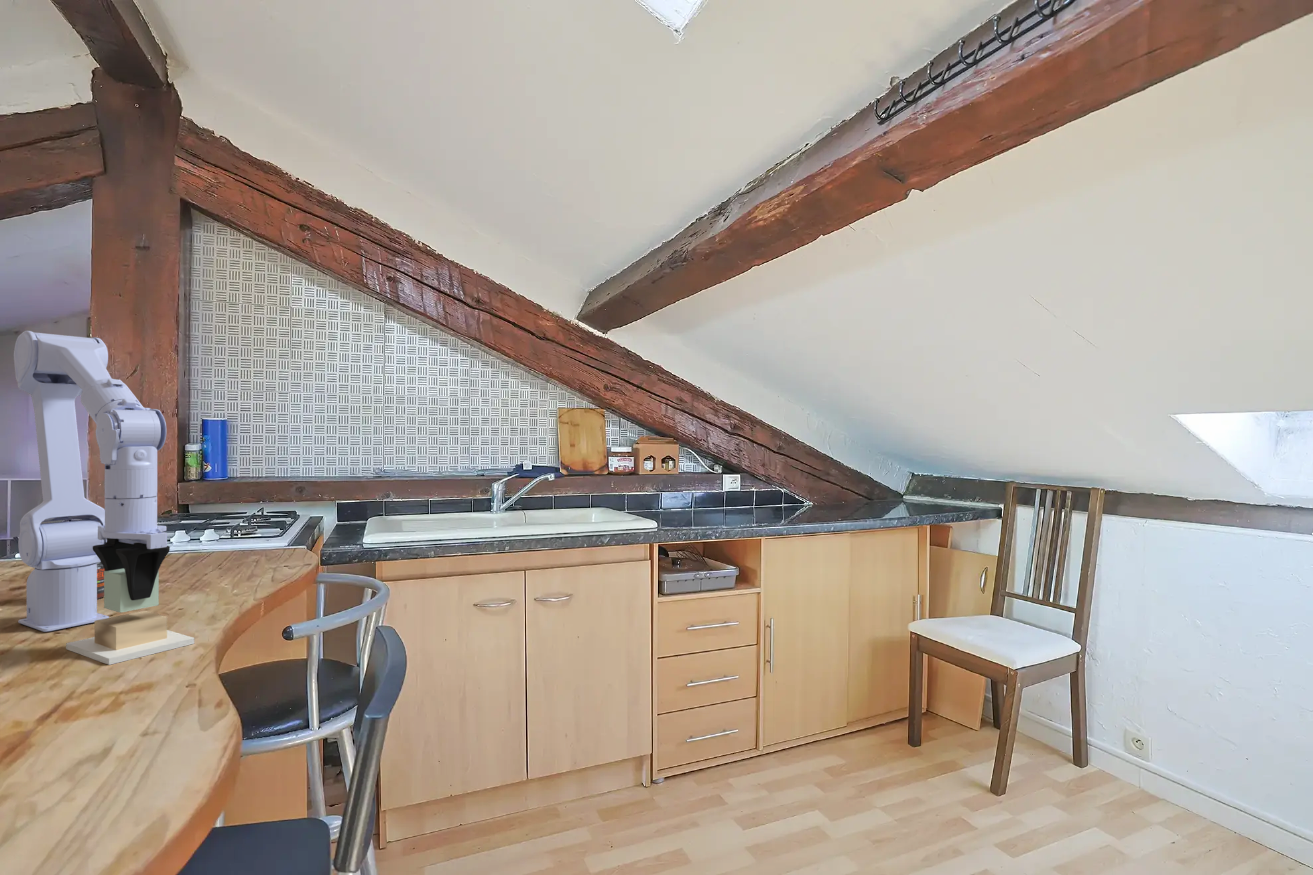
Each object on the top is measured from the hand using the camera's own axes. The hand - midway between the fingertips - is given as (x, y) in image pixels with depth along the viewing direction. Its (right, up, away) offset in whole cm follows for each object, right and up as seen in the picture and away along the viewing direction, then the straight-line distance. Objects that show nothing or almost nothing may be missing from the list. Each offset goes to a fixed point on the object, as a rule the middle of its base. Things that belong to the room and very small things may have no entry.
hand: (131, 596), depth 93 cm
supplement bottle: (-27, -7, +25) cm, 38 cm away
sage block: (0, -1, 0) cm, 1 cm away
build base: (0, -7, 0) cm, 7 cm away
